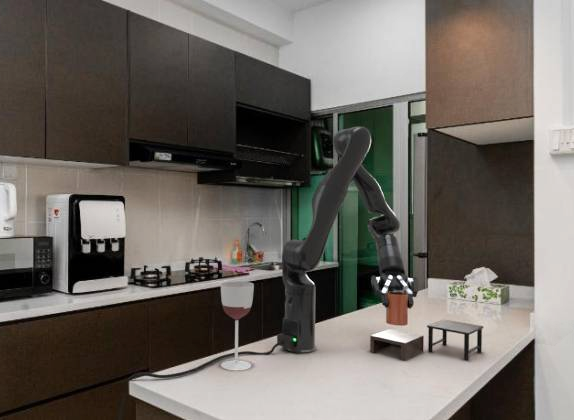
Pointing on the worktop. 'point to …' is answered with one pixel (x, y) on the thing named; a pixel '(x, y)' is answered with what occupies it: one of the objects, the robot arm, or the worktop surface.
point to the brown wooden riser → (398, 342)
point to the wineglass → (236, 313)
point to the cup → (397, 308)
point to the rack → (456, 328)
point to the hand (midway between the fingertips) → (398, 306)
